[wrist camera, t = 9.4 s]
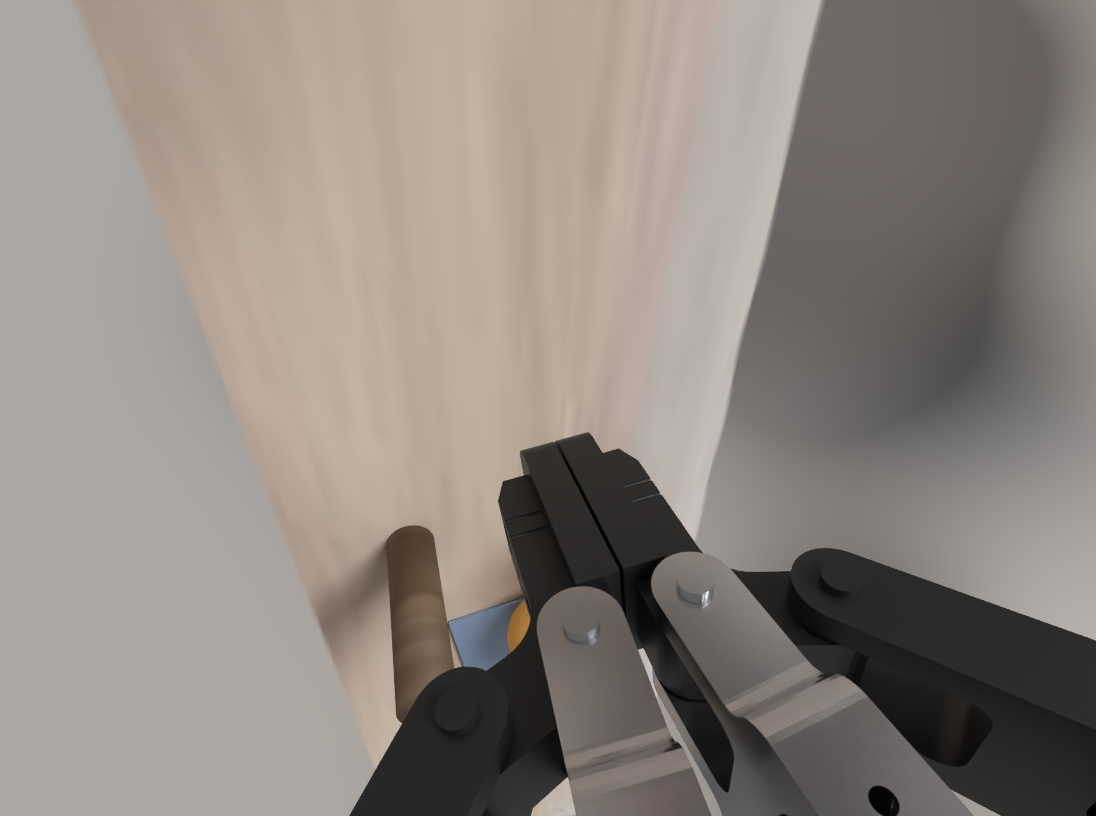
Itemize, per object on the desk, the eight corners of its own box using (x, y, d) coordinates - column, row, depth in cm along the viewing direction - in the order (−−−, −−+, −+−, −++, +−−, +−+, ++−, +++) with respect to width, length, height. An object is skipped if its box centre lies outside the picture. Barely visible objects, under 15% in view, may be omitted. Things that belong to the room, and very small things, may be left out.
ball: (529, 717, 30) (514, 660, 34) (614, 681, 30) (587, 630, 35) (504, 640, 28) (491, 592, 33) (592, 605, 29) (568, 563, 34)
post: (381, 534, 28) (388, 702, 20) (427, 520, 28) (451, 680, 21) (394, 565, 29) (405, 733, 22) (438, 551, 29) (464, 712, 22)
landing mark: (448, 621, 32) (448, 624, 32) (605, 570, 34) (606, 573, 34) (490, 737, 40) (490, 739, 40) (616, 690, 42) (617, 693, 42)
